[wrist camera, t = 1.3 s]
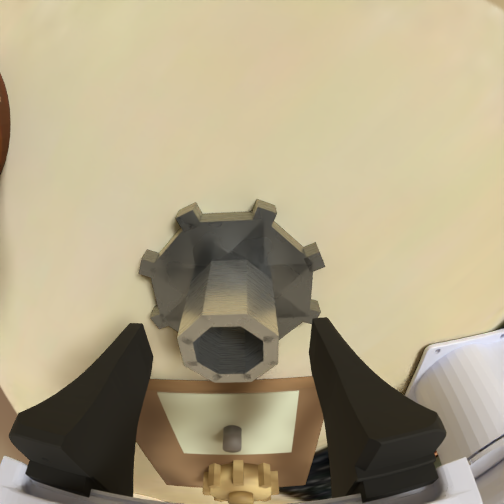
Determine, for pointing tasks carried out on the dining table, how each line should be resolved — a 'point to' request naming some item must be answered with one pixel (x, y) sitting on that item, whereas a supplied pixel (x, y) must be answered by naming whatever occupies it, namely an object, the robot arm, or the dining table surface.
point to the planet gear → (232, 290)
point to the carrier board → (231, 435)
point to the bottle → (145, 497)
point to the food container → (4, 123)
